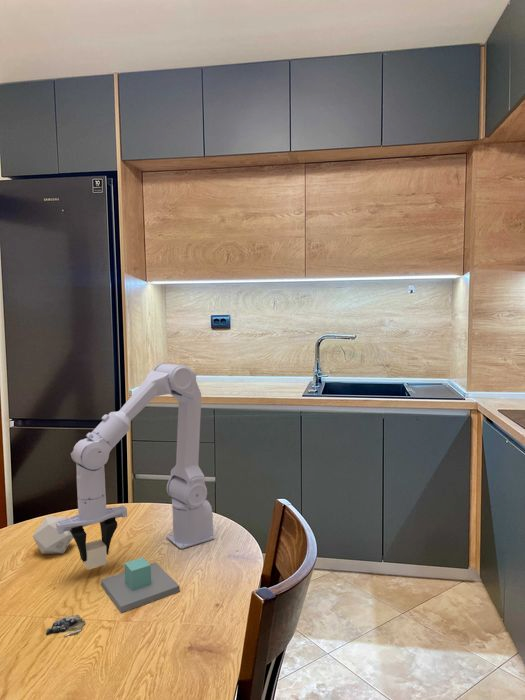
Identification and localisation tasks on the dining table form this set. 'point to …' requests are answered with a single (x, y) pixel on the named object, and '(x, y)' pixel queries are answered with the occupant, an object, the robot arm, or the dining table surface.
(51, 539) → the die
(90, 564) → the cream cube
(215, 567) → the dining table surface
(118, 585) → the plate
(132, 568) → the teal cube
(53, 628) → the blueberries
